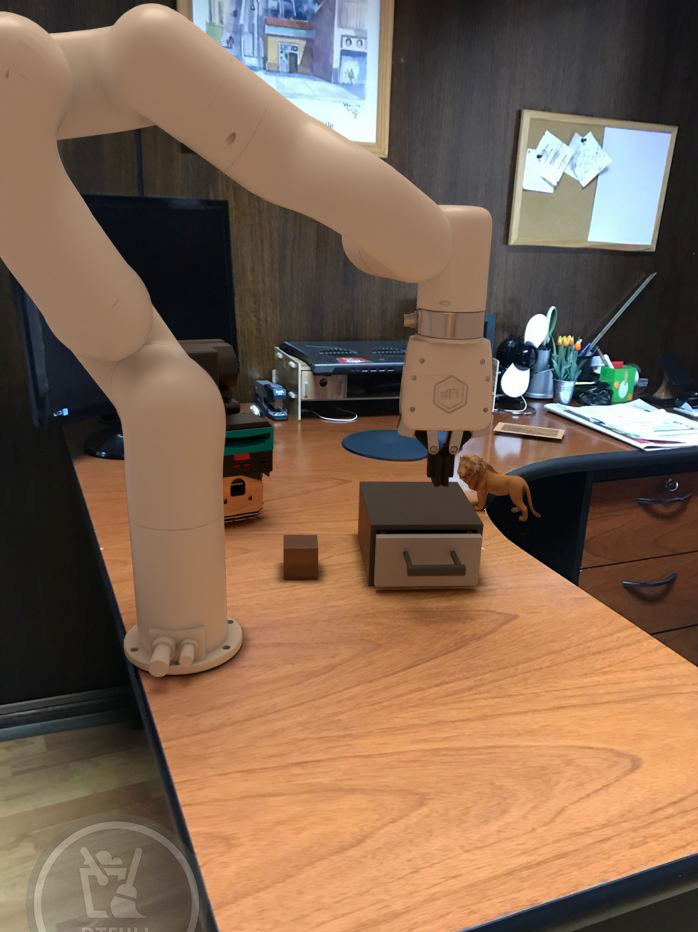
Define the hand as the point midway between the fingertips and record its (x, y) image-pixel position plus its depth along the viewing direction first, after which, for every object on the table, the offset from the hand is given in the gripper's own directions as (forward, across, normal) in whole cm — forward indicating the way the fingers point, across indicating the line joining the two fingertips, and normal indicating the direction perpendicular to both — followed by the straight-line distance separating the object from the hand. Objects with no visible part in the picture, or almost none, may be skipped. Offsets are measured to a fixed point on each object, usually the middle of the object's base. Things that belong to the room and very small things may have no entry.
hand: (439, 482), depth 92 cm
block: (+16, -16, +9) cm, 24 cm away
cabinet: (+16, 0, +13) cm, 20 cm away
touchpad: (+16, +36, +78) cm, 87 cm away
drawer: (+15, 0, +7) cm, 16 cm away
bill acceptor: (+16, -29, +34) cm, 47 cm away
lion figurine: (+16, +16, +31) cm, 38 cm away
